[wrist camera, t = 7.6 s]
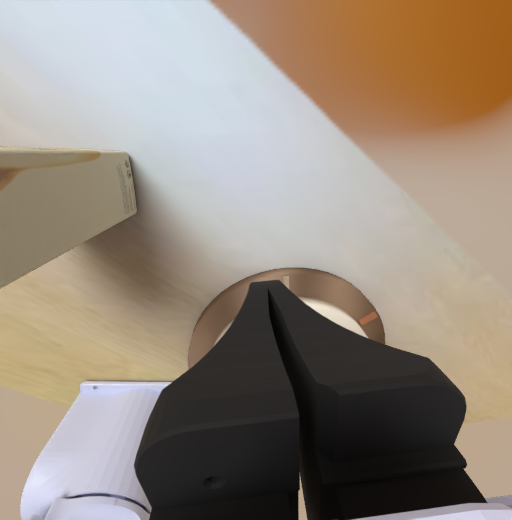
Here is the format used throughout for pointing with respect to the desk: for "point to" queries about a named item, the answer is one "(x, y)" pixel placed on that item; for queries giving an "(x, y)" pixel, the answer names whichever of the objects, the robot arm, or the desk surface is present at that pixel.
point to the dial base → (301, 285)
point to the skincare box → (58, 202)
